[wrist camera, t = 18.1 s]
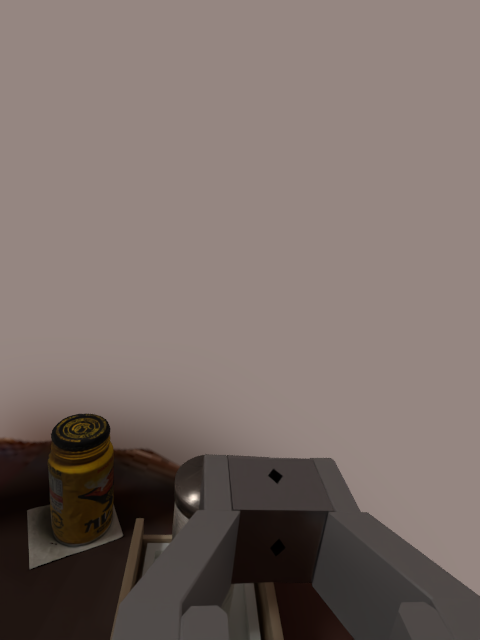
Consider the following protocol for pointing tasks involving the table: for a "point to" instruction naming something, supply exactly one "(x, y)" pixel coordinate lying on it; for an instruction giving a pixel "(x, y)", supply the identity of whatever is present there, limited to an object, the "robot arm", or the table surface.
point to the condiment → (76, 492)
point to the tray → (242, 608)
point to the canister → (191, 505)
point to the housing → (136, 557)
